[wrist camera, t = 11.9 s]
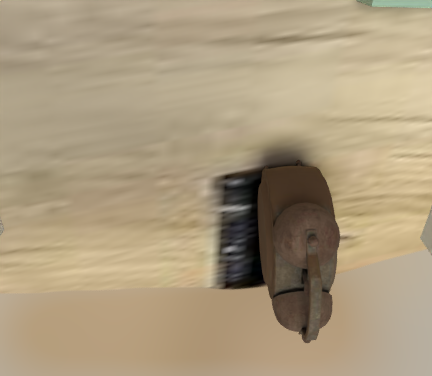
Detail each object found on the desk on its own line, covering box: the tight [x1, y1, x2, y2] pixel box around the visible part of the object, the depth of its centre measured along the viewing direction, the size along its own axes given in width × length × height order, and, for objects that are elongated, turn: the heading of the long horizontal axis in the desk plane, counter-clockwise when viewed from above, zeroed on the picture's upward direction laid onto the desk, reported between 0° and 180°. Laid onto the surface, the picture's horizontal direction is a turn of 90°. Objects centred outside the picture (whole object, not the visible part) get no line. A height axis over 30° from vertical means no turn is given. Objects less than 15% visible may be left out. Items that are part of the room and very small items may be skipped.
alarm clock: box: [258, 160, 340, 343], centre depth 42 cm, size 15×7×20 cm, turn 4°
